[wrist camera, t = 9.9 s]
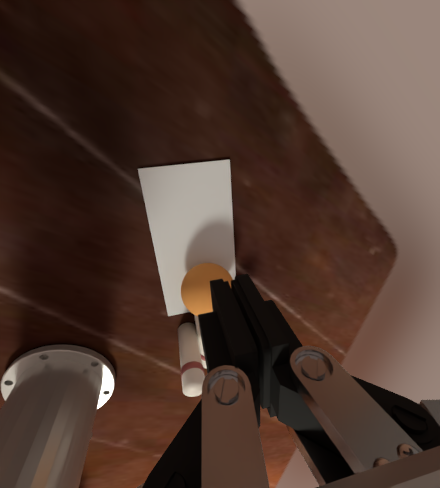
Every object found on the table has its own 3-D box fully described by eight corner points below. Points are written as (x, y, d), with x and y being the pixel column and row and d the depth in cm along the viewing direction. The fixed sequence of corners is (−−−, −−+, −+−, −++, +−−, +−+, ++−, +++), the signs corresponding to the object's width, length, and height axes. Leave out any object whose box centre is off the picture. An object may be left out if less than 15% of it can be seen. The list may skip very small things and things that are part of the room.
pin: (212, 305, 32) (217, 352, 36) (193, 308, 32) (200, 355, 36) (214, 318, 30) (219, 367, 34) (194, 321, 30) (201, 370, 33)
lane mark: (236, 301, 33) (237, 302, 33) (168, 315, 31) (168, 316, 31) (229, 159, 25) (229, 159, 25) (137, 168, 24) (137, 168, 24)
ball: (243, 306, 24) (230, 250, 26) (180, 317, 23) (174, 259, 26) (237, 317, 29) (228, 269, 32) (187, 326, 29) (181, 277, 31)
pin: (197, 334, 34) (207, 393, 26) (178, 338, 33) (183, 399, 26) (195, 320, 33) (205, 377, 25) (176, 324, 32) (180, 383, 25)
